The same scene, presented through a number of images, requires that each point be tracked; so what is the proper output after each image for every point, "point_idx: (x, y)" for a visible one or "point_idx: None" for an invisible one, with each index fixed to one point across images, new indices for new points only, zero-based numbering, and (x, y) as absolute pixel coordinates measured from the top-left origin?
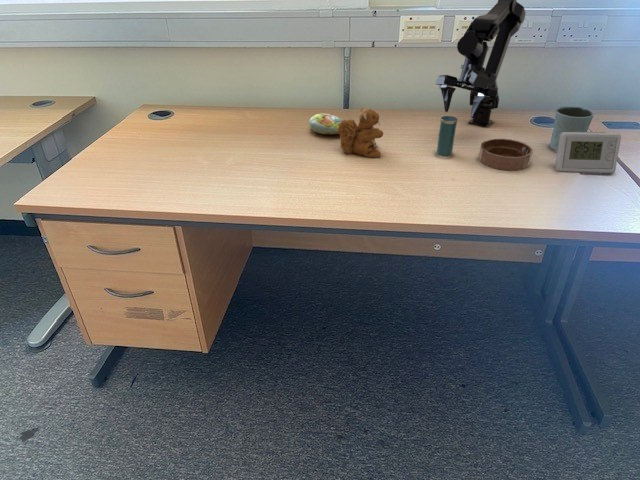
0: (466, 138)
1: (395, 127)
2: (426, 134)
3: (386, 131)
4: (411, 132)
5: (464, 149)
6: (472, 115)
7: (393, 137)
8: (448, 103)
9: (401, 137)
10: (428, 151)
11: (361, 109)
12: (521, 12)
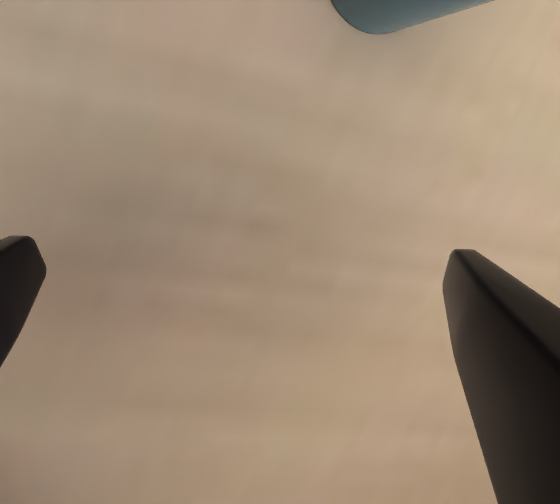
0: (84, 263)
1: (452, 456)
2: (336, 356)
3: None
4: (405, 389)
5: (175, 45)
6: (15, 263)
7: None
8: (553, 321)
9: None
10: (450, 73)
11: None
12: None
